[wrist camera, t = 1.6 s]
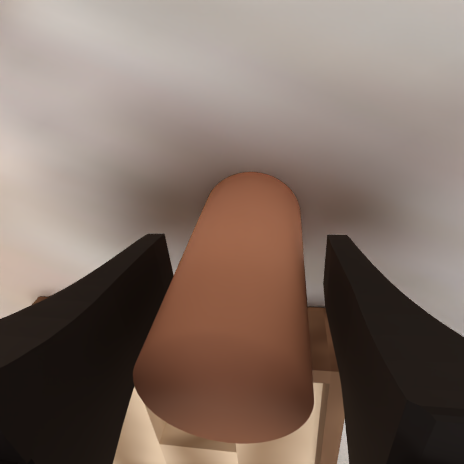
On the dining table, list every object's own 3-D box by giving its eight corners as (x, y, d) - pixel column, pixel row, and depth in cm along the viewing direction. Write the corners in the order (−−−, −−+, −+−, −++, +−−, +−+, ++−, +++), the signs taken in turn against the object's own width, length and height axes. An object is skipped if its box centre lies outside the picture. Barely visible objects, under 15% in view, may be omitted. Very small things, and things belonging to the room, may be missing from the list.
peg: (302, 170, 13) (319, 338, 6) (299, 256, 15) (310, 450, 8) (199, 173, 13) (112, 327, 7) (210, 255, 15) (152, 434, 9)
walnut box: (340, 308, 16) (352, 372, 13) (320, 469, 24) (325, 530, 22) (39, 296, 19) (-8, 348, 16) (114, 446, 27) (93, 498, 24)
